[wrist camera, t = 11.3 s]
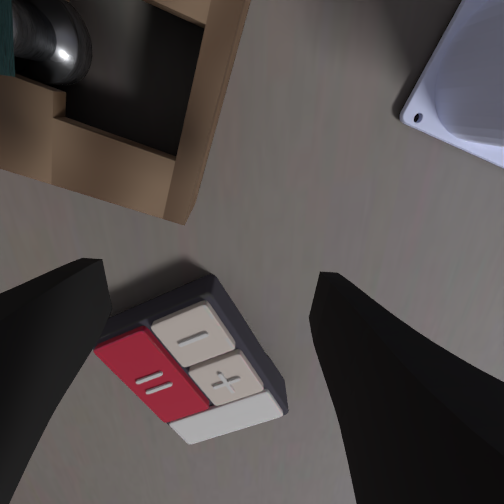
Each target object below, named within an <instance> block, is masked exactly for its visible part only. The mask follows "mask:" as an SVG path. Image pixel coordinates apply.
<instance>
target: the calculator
mask: <svg viewBox="0 0 504 504" xmlns="http://www.w3.org/2000/svg"><path fill="white" fill-rule="evenodd" d="M93 351H94V353H95V354H96V355H97V356H98V357H99V358H100V359H101V360H102V361H103V362H104V363H105V364H106V365H107V366H108V367H109V368H110V369H111V370H112V371H113V372H114V373H115V374H116V375H117V376H118V377H119V378H120V379H121V380H122V381H123V382H124V383H125V384H126V385H127V386H128V387H129V388H130V389H131V390H132V391H133V392H134V393H135V394H136V395H137V396H138V397H139V398H140V399H141V400H142V401H143V402H144V403H145V404H146V405H147V406H148V407H149V408H150V409H151V410H152V411H153V412H154V413H155V414H156V415H157V416H158V417H159V418H160V419H161V420H162V421H163V422H165V423H167V424H168V425H169V426H170V427H171V428H172V429H173V430H174V431H175V432H176V433H177V434H178V435H179V436H180V437H181V438H182V439H183V440H184V441H185V442H186V443H188V444H194V443H197V442H200V441H204V440H207V439H210V438H214V437H217V436H220V435H223V434H227V433H230V432H233V431H236V430H240V429H243V428H246V427H249V426H253V425H256V424H259V423H262V422H266V421H269V420H272V419H276V418H279V417H281V416H283V415H286V414H287V413H288V403H287V395H286V388H285V381H284V379H283V377H282V376H281V374H280V372H279V371H278V369H277V368H276V366H275V365H274V363H273V362H272V360H271V359H270V358H269V357H268V356H267V355H266V353H265V352H264V350H263V349H262V347H261V345H260V344H259V342H258V341H257V339H256V337H255V336H254V334H253V333H252V331H251V329H250V328H249V326H248V325H247V323H246V321H245V320H244V318H243V317H242V315H241V314H240V312H239V310H238V309H237V307H236V306H235V304H234V303H233V301H232V300H231V298H230V297H229V295H228V294H227V292H226V291H225V289H224V288H223V286H222V285H221V283H220V282H219V280H218V279H217V277H216V276H215V275H212V274H210V275H207V276H204V277H202V278H200V279H198V280H195V281H193V282H191V283H188V284H186V285H184V286H182V287H179V288H177V289H175V290H172V291H170V292H168V293H166V294H163V295H161V296H159V297H156V298H154V299H152V300H149V301H147V302H145V303H143V304H140V305H138V306H136V307H133V308H131V309H129V310H127V311H124V312H122V313H120V314H117V315H115V316H113V317H111V318H108V320H107V322H106V325H105V327H104V329H103V331H102V333H101V335H100V337H99V339H98V341H97V342H96V344H95V346H94V347H93Z"/></svg>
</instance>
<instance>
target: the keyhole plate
mask: <svg viewBox="0 0 504 504" xmlns="http://www.w3.org/2000/svg"><path fill="white" fill-rule="evenodd" d="M65 1H67V2H70V0H65ZM142 1H145V2H147V3H149V4H151V5H153V6H156V7H158V8H160V9H162V10H164V11H167V12H169V13H171V14H173V15H175V16H178V17H180V18H182V19H184V20H186V21H189V22H191V23H193V24H195V25H197V26H200V27H202V28H204V29H205V30H204V34H203V39H202V43H201V48H200V52H199V57H198V62H197V66H196V71H195V75H194V80H193V84H192V89H191V93H190V98H189V102H188V107H187V111H186V116H185V120H184V125H183V129H182V134H181V138H180V143H179V147H178V152H177V156H174V155H171V154H168V153H165V152H162V151H159V150H157V149H154V148H151V147H148V146H145V145H143V144H140V143H137V142H134V141H131V140H129V139H126V138H123V137H120V136H117V135H114V134H112V133H109V132H106V131H103V130H100V129H98V128H95V127H92V126H89V125H86V124H84V123H81V122H78V121H75V120H72V119H69V118H67V117H65V112H66V92H64V91H61V90H59V89H56V88H53V87H51V86H48V85H45V84H43V83H40V82H37V81H34V80H32V79H29V78H26V77H24V76H21V75H18V74H16V73H15V77H13V76H5V75H0V169H3V170H7V171H10V172H13V173H16V174H19V175H23V176H26V177H29V178H32V179H36V180H39V181H42V182H45V183H49V184H52V185H55V186H58V187H62V188H65V189H68V190H71V191H74V192H78V193H81V194H84V195H87V196H91V197H94V198H97V199H100V200H104V201H107V202H110V203H113V204H117V205H120V206H123V207H126V208H130V209H133V210H136V211H139V212H142V213H146V214H149V215H152V216H155V217H159V218H162V219H165V220H168V221H172V222H175V223H178V224H181V225H185V223H186V221H187V219H188V217H189V215H190V213H191V211H192V209H193V207H194V205H195V202H196V199H197V195H198V191H199V188H200V184H201V181H202V177H203V173H204V170H205V166H206V162H207V159H208V155H209V151H210V148H211V144H212V140H213V137H214V133H215V129H216V126H217V122H218V118H219V115H220V111H221V107H222V104H223V100H224V97H225V93H226V89H227V86H228V82H229V78H230V75H231V71H232V67H233V64H234V60H235V56H236V53H237V49H238V45H239V42H240V38H241V34H242V31H243V27H244V23H245V20H246V16H247V13H248V9H249V5H250V2H251V0H142Z"/></svg>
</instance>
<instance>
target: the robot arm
mask: <svg viewBox="0 0 504 504" xmlns="http://www.w3.org/2000/svg"><path fill="white" fill-rule="evenodd" d="M416 114H419V119H418V120H417V122H414V116H415V115H416ZM400 121H401V122H402V123H403V124H405V125H408V126H410V127H412V128H414V129H417V130H419V131H421V132H423V133H425V134H428V135H430V136H432V137H434V138H437V139H439V140H441V141H443V142H445V143H448V144H450V145H452V146H454V147H457V148H459V149H461V150H463V151H465V152H468V153H470V154H472V155H474V156H477V157H479V158H481V159H483V160H485V161H488V162H490V163H492V164H494V165H497V166H499V167H501V168H503V169H504V0H462V1H461V3H460V5H459V7H458V9H457V10H456V12H455V14H454V16H453V18H452V19H451V21H450V23H449V25H448V27H447V29H446V30H445V32H444V34H443V36H442V38H441V39H440V41H439V43H438V45H437V47H436V49H435V50H434V52H433V54H432V56H431V58H430V60H429V61H428V63H427V65H426V67H425V69H424V70H423V72H422V74H421V76H420V78H419V80H418V81H417V83H416V85H415V87H414V89H413V90H412V92H411V94H410V96H409V98H408V100H407V101H406V103H405V105H404V107H403V109H402V110H401V113H400ZM111 310H112V305H111V300H110V295H109V290H108V285H107V281H106V276H105V271H104V266H103V261H102V259H90V258H81V259H79V260H76V261H73V262H70V263H68V264H66V265H63V266H61V267H59V268H56V269H54V270H52V271H50V272H47V273H45V274H43V275H41V276H39V277H36V278H34V279H32V280H30V281H28V282H25V283H23V284H21V285H19V286H17V287H14V288H12V289H10V290H8V291H5V292H3V293H0V504H9V503H10V501H11V498H12V496H13V494H14V492H15V490H16V488H17V486H18V483H19V481H20V479H21V477H22V475H23V473H24V471H25V468H26V466H27V464H28V462H29V460H30V458H31V456H32V454H33V452H34V450H35V448H36V446H37V444H38V442H39V440H40V438H41V436H42V434H43V432H44V430H45V428H46V426H47V424H48V422H49V420H50V418H51V416H52V415H53V413H54V411H55V409H56V407H57V406H58V404H59V402H60V401H61V399H62V397H63V396H64V394H65V393H66V391H67V389H68V388H69V386H70V385H71V383H72V381H73V380H74V378H75V376H76V375H77V373H78V372H79V370H80V368H81V367H82V365H83V364H84V362H85V360H86V359H87V357H88V356H89V354H90V352H91V351H92V349H93V347H94V346H95V344H96V342H97V341H98V339H99V337H100V335H101V333H102V331H103V329H104V327H105V325H106V322H107V320H108V318H109V315H110V313H111ZM309 321H310V327H311V333H312V338H313V343H314V346H315V350H316V353H317V356H318V359H319V362H320V365H321V368H322V371H323V374H324V377H325V380H326V383H327V386H328V389H329V393H330V396H331V399H332V402H333V405H334V408H335V411H336V414H337V418H338V421H339V425H340V429H341V434H342V438H343V442H344V447H345V451H346V455H347V460H348V464H349V469H350V474H351V479H352V484H353V488H354V493H355V498H356V503H357V504H504V382H502V381H500V380H499V379H497V378H495V377H493V376H491V375H489V374H487V373H485V372H483V371H482V370H480V369H478V368H476V367H474V366H473V365H471V364H469V363H467V362H466V361H464V360H462V359H460V358H459V357H457V356H455V355H454V354H452V353H450V352H449V351H447V350H445V349H444V348H442V347H441V346H439V345H437V344H436V343H434V342H432V341H431V340H429V339H428V338H426V337H425V336H423V335H422V334H420V333H419V332H417V331H416V330H414V329H413V328H411V327H410V326H408V325H407V324H406V323H404V322H403V321H401V320H400V319H398V318H397V317H396V316H394V315H393V314H392V313H390V312H389V311H388V310H386V309H385V308H384V307H382V306H381V305H380V304H378V303H377V302H376V301H374V300H373V299H372V298H370V297H369V296H368V295H367V294H365V293H364V292H363V291H362V290H360V289H359V288H358V287H356V286H355V285H354V284H353V283H351V282H350V281H349V280H347V279H346V278H345V277H343V276H342V275H340V274H339V273H333V272H320V274H319V278H318V282H317V286H316V291H315V295H314V299H313V303H312V307H311V311H310V315H309Z"/></svg>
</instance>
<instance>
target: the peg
mask: <svg viewBox="0 0 504 504" xmlns="http://www.w3.org/2000/svg"><path fill="white" fill-rule="evenodd" d="M91 60H92V45H91V40H90V36H89V33H88V30H87V28H86V26H85V24H84V22H83V20H82V19H81V17H80V16H79V14H78V13H77V12H76V10H75V9H74V8H73V7H72V6H71V5H70V4H69V3H68V2H67V1H65V0H0V75H5V76H13V77H15V71H17V72H18V73H19V74H21V75H22V76H24V77H26V78H29V79H32V80H34V81H37V82H40V83H47V84H55V85H72V84H75V83H77V82H79V81H80V80H81V79H83V77H84V76H85V75H86V74H87V72H88V70H89V68H90V65H91Z"/></svg>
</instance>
